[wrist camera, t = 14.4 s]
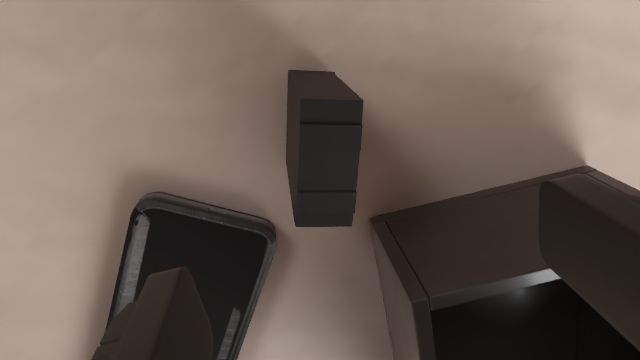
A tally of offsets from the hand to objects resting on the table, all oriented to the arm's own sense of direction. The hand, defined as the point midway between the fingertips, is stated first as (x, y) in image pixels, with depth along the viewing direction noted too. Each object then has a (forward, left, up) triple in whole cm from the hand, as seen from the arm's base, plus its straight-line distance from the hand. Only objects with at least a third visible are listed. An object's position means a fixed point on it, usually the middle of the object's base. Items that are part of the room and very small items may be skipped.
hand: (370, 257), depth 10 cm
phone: (-10, -10, -14) cm, 20 cm away
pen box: (+9, -15, -14) cm, 22 cm away
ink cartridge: (0, 0, -14) cm, 14 cm away
